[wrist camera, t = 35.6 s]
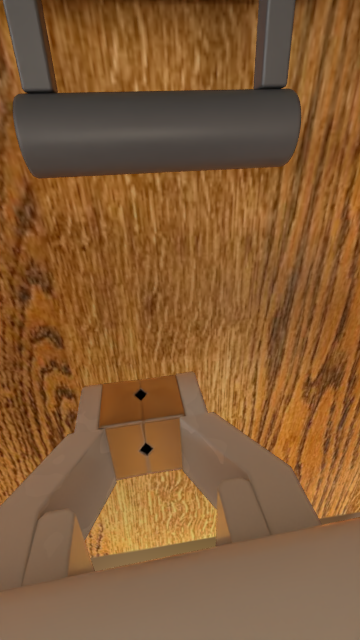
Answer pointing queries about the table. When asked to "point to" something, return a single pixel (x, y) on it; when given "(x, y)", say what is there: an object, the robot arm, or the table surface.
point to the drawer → (153, 111)
